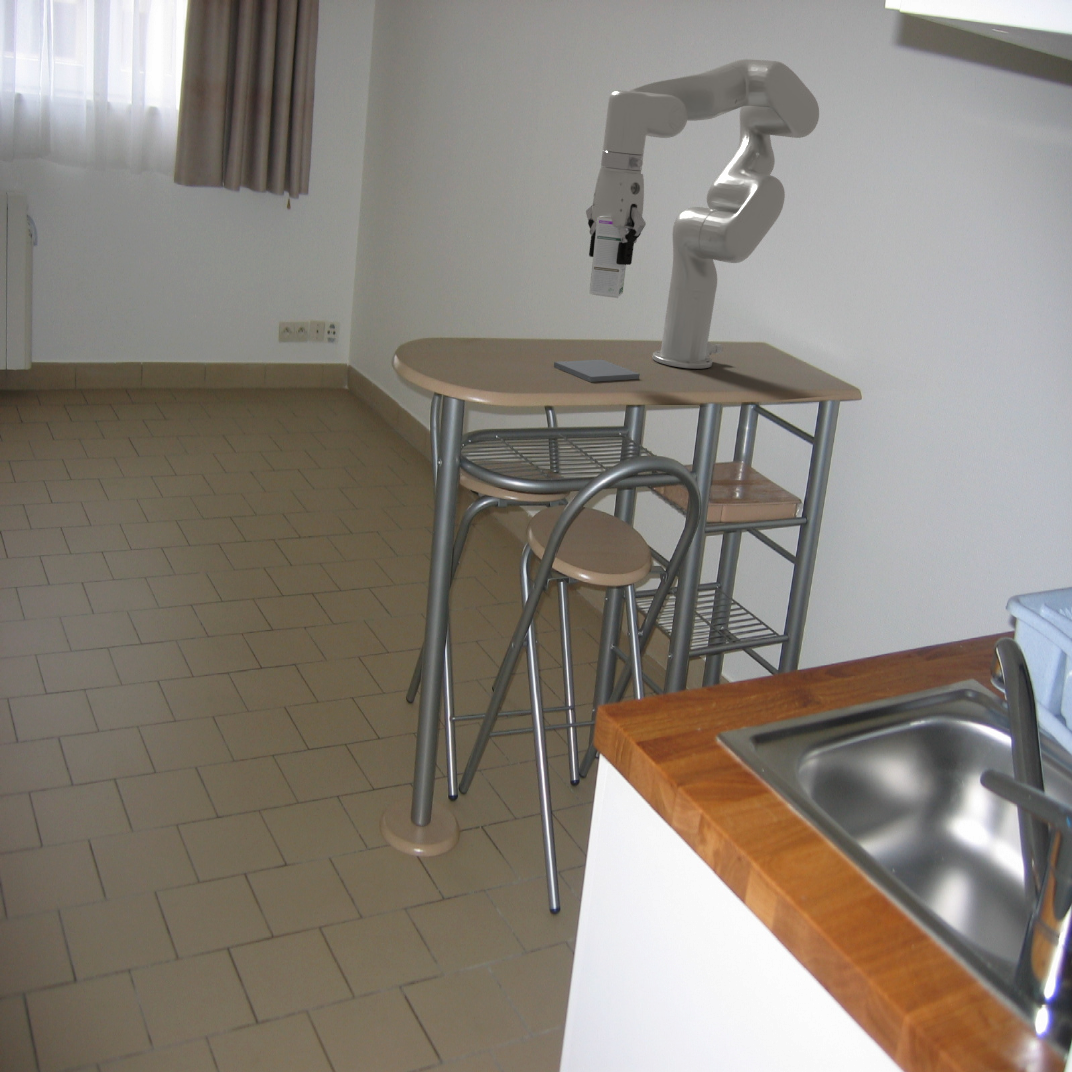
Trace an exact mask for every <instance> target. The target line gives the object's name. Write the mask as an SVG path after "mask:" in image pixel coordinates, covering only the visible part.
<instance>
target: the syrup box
mask: <svg viewBox="0 0 1072 1072" xmlns="http://www.w3.org/2000/svg"><path fill="white" fill-rule="evenodd" d="M625 225H628V224H627V220H626V222H625ZM628 233H629V231H626V234H628ZM619 242H622V241H621V236H620V232H619V228H616V227H614V226H613V224H612V219H611V217H606V216H600V217H598V218H597V226H596V236H595V245H594V254H593V257H592V265H591V274H590V275H591V276H590V283H589V285H590V286H589V294H590V295H595V296H600V297H607V298H616V299H618V298H619V297H620V296H622V295H623V294H624V287H625V286H624V285H625V275H626V268H627V265H619V264H617V263H616V261H617V253H618V245H619Z"/></svg>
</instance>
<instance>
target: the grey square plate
mask: <svg viewBox="0 0 1072 1072" xmlns="http://www.w3.org/2000/svg"><path fill="white" fill-rule="evenodd" d="M553 367H554V368H555V369H558V370H560V371H562V372H565V373H568V374H569V375H573V376H575V377H577V378H580V379H582V380H584V381H587V382H590V383H595V382H611V381H612V382H613V381H626V380H640V373H639V372H636V371H633V370H631V369H629V368H626V367H623V366H620V365H618V364H615V363H613V362H610V361H607V360H605V359H583V360H566V361H565V360H564V361H562V360H561V361H554V363H553Z"/></svg>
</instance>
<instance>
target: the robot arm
mask: <svg viewBox="0 0 1072 1072" xmlns="http://www.w3.org/2000/svg"><path fill="white" fill-rule="evenodd" d="M737 109H740V110H739V142H738V147H737V149H736V151H735V153H734V155H733V156H732V157H731V158H730V160H729V161H728V162H727V164H726V165H725V167H724V168H723V169H721V171H720V173H719V174H718V175H717V177H716V178H715V179H714V181H713V182H712V184H711V185H710V187H709V189H708V191H707V195H706V203H707V206H708V207H703V206H701V207H700V206H695V207H694V206H693V207H689V208H688V207H687V208H686V209H684V210H682V211H681V212H680V213H679V214H678V215H677V216H676V218H675V220H674V222H673V227H672V233H671V234H672V255H673V256H672V268H671V269H672V270H671V277H670V285H669V290H668V296H667V297H668V298H667V304H666V310H665V311H666V312H665V319H664V326H663V331H662V339H661V340H662V341H661V345H660V347H661V348H660V350H655V351H654V352H652V357H651V358H652V359H653V360H654V361H655V362H657V363H659V364H663V365H666V366H670V367H677V368H680V369H681V368H683V369H695V370H696V369H697V370H698V369H702V370H703V369H707V368H711V367H712V366H713V360H712V359H711V358H710V355H712V354H722V353H723V350H724V347H723V345H722V344H721V343H718V344H717V343H714V344H712V342H709V338H710V337H709V336H710V331H711V324H712V319H713V317H712V316H713V311H714V305H715V299H716V294H717V293H716V292H717V287H718V273H717V272H718V271H717V268H716V264H715V261H719V262H722V263H723V262H724V263H729V264H739V263H741V262H743V261H745V260H747V258H749V257H750V256H751V255H752V254H753V252H754V251H755V250H756V249H757V247H758V245H759V244H760V243H761V242H762V240H764V237H766V235H767V234H768V233H769V231H770V230H771V228H772V227H773V226H774V224H775V223H776V222H777V220H778V219H779V217H780V215H781V213H782V210H783V207H784V204H785V198H786V194H785V193H786V192H785V187H784V185H783V183H782V182H781V180H780V179H778V177H776V176H773V175H771V174H772V172H773V171H774V167H775V163H776V162H775V161H776V160H775V153H774V150H773V147H772V141H771V140H772V139H771V136H778V137H786V138H792V139H793V138H795V139H797V138H799V139H800V138H805V137H807V136H809V135H810V134H812V133H813V132H814V131H815V129H816V127H817V125H818V122H819V118H820V107H819V103H818V101H817V98H816V97H815V95H814V94H813V93H812V91H811V90H810V89H809V88H808V87H807V85H806V84H805V83H804V82H803V81H802V79H801V78H800V77H799V76H798V75H797V74H796V73H795V72H794V71H793V69H791V68H790V67H789V66H788V65H786V64H784V63H783V62H781V61H776V60H764V59H763V60H761V59H750V58H749V59H747V58H746V59H738V60H735V61H732V62H729V63H726V64H723V65H721V66H718V67H715V68H712V69H710V70H707V71H704V72H700V73H697V74H691V75H685V76H680V77H676V78H671V79H664V80H660V81H655V82H650V83H647V84H644V85H641V86H638V87H635V88H633V89H630V90H615V91H612V92H611V93H610V95H609V97H608V102H607V109H606V110H607V112H606V119H605V120H606V121H605V127H604V128H605V129H604V135H603V146H602V154H601V163H600V168H599V172H598V176H597V178H596V184H595V188H594V192H593V193H594V194H593V200H592V205H591V206H589V207H588V209H586V211H585V214H586V218H587V221H588V222H587V224H588V227H589V235H590V242H589V243H590V244H589V253H588V256H589V257H590V258H593V254H594V245H595V236H596V226H597V218H598V217H600V216H606V217H611V219H612V224H613V226H614V227H616V228H619V232H620V236H621V241H622V242H619V245H618V253H617V261H616V263H617V264H619V265H626V266H627V265H631V264H632V262H633V261H632V260H633V254H634V244H636V243H637V240H638V238H639V237H640V236H641V234H642V232H643V230H644V229H645V227H646V223H647V222H646V220H645V219H644V218H643V212H644V202H645V199H644V197H645V183H644V182H645V181H644V180H645V179H644V174H643V173H642V168H643V165H644V163H643V161H644V153H645V145H646V137H651V138H652V137H653V138H661V139H668V138H669V139H670V138H673V137H676V136H678V135H680V133H681V132H682V131H683V130H684V129H685V127H686V125H687V122H688V121H690V122H691V121H694V122H695V121H696V122H697V121H705V120H707V121H708V120H712V119H714V118H717V117H719V116H722V115H724V114H727V113H730V112H732V111H735V110H737ZM626 220H627V224H628V225H625V222H626ZM626 231H629V233H628V234H626ZM714 260H715V261H714Z"/></svg>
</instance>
